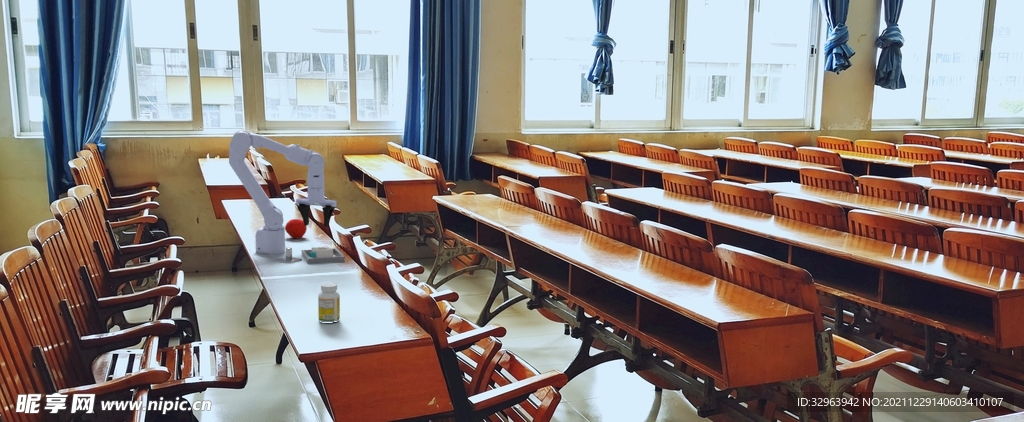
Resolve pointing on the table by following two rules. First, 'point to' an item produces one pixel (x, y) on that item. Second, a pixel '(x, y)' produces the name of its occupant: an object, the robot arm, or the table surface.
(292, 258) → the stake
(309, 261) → the tray
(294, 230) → the apple
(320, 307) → the supplement bottle
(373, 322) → the table surface
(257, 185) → the robot arm
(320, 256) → the collar
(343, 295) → the table surface
